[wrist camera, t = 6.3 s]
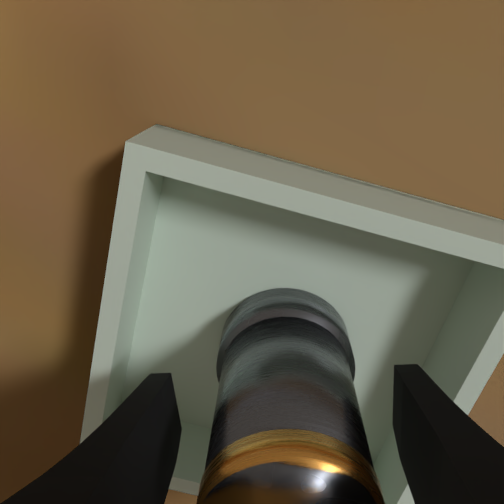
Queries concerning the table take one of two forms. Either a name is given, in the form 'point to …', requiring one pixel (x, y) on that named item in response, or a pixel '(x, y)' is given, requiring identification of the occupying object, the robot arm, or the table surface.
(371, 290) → the bin
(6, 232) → the table surface
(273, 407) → the dark cylindrical piece
